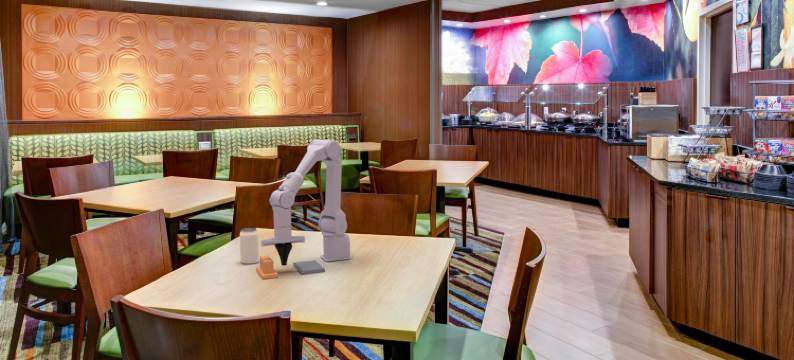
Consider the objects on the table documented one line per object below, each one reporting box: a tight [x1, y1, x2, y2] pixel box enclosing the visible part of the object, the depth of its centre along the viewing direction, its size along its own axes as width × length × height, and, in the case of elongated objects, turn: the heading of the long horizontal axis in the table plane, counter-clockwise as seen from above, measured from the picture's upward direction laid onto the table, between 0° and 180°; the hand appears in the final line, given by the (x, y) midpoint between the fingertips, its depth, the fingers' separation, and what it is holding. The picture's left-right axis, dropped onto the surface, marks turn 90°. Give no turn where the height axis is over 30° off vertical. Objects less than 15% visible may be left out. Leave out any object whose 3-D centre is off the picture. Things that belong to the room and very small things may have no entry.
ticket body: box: [292, 259, 326, 275], centre depth 212 cm, size 8×12×1 cm, turn 23°
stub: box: [255, 255, 279, 280], centre depth 206 cm, size 5×12×5 cm, turn 23°
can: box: [239, 227, 260, 265], centre depth 221 cm, size 6×6×12 cm
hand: (284, 264), depth 208 cm, fingers closed
